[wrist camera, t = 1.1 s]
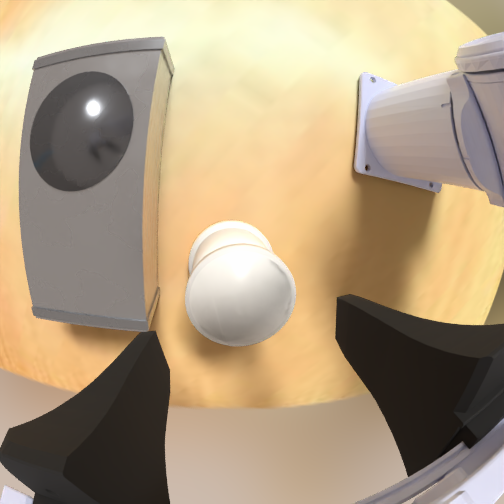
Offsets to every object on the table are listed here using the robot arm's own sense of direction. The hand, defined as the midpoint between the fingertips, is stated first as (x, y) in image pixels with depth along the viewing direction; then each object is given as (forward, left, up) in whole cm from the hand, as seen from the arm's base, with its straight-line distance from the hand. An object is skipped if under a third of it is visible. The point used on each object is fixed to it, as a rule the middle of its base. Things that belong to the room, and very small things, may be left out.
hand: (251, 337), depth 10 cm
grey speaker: (+9, -5, -9) cm, 14 cm away
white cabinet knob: (0, 0, -9) cm, 9 cm away
